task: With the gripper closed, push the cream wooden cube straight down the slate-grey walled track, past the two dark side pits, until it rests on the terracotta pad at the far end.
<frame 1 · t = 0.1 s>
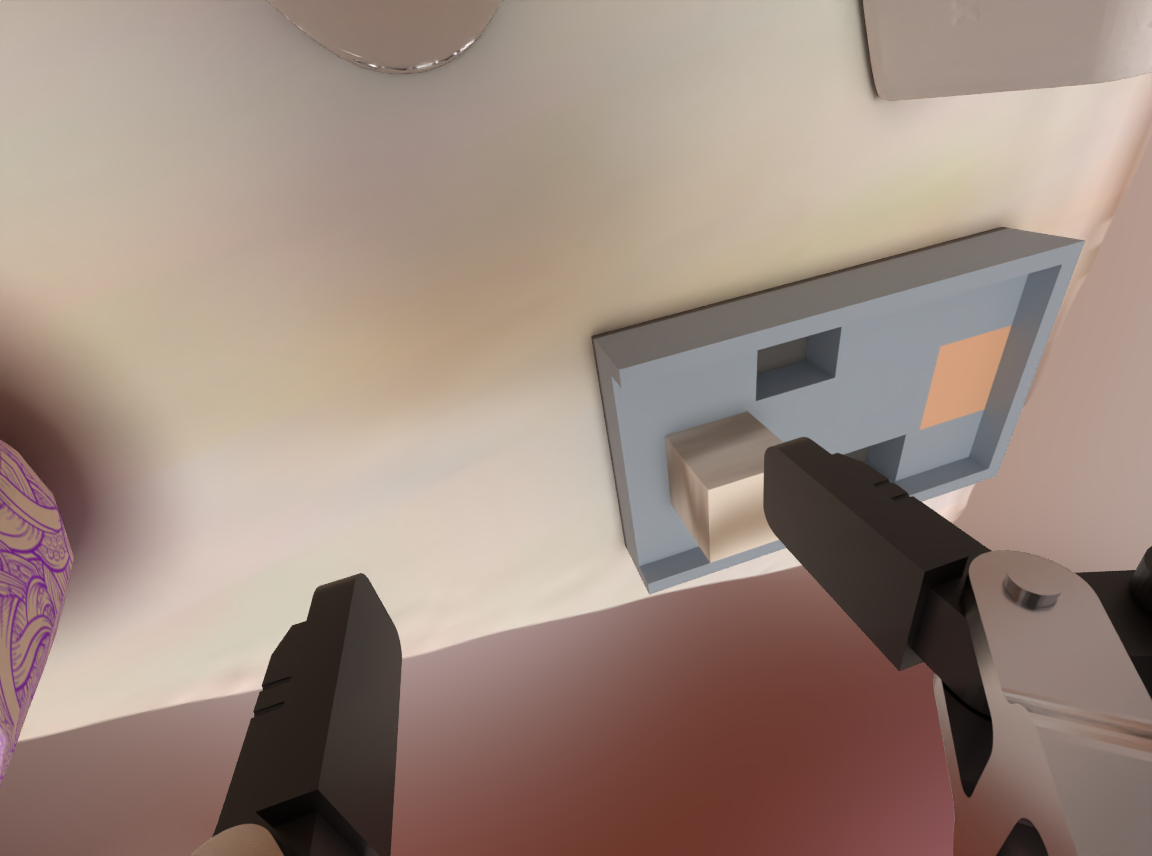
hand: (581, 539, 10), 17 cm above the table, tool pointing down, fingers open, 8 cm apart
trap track: (798, 399, 33), on the table
cream cube: (707, 458, 29), point 3 cm above the table, touching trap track
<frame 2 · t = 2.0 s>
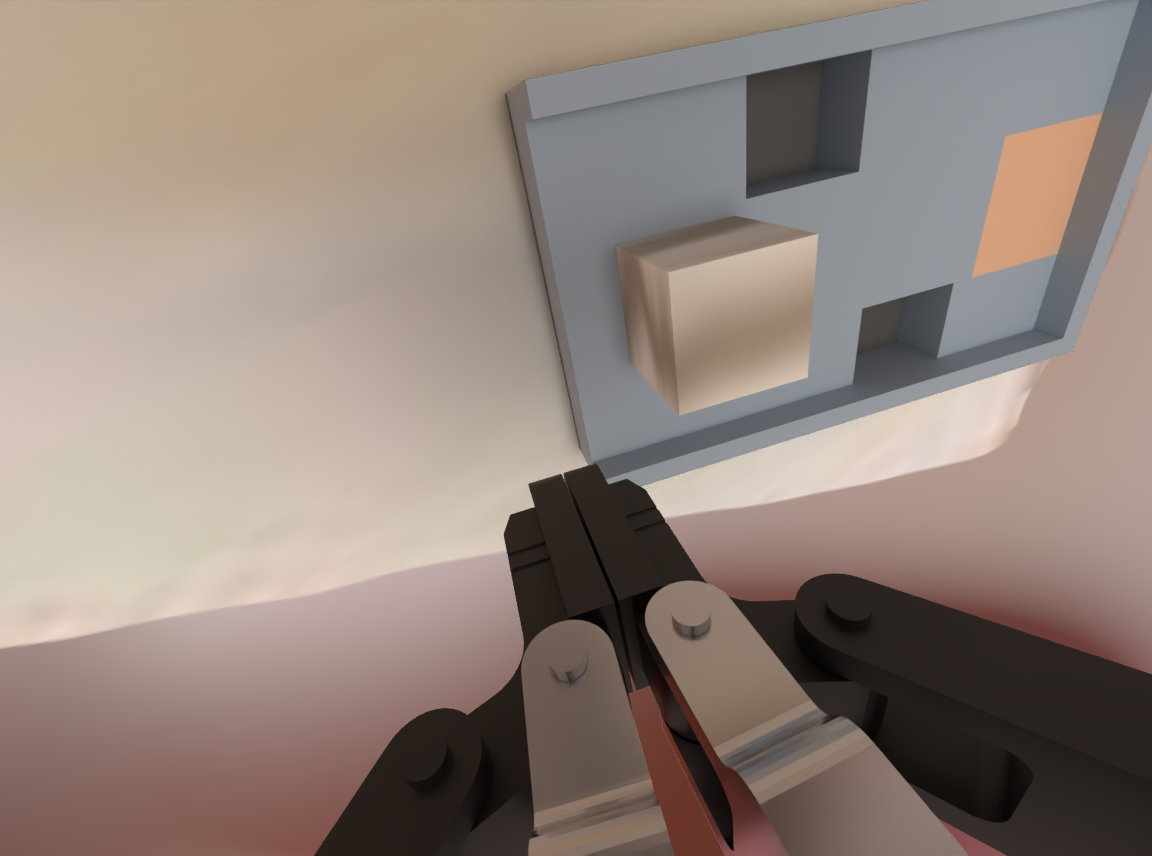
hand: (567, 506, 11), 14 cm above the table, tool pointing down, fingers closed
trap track: (806, 237, 24), on the table
cream cube: (680, 292, 21), point 3 cm above the table, touching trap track
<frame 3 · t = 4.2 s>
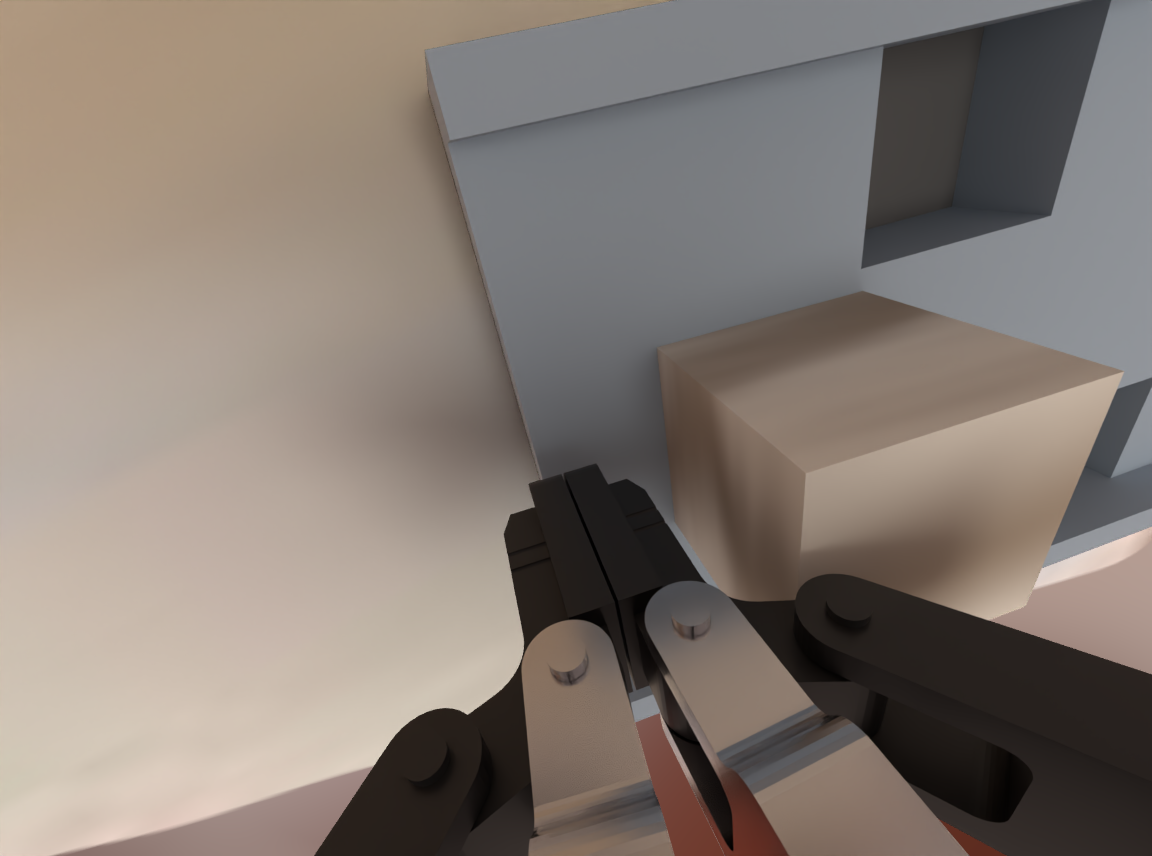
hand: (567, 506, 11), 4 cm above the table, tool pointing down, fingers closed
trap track: (922, 307, 16), on the table
cream cube: (761, 415, 12), point 3 cm above the table, touching gripper
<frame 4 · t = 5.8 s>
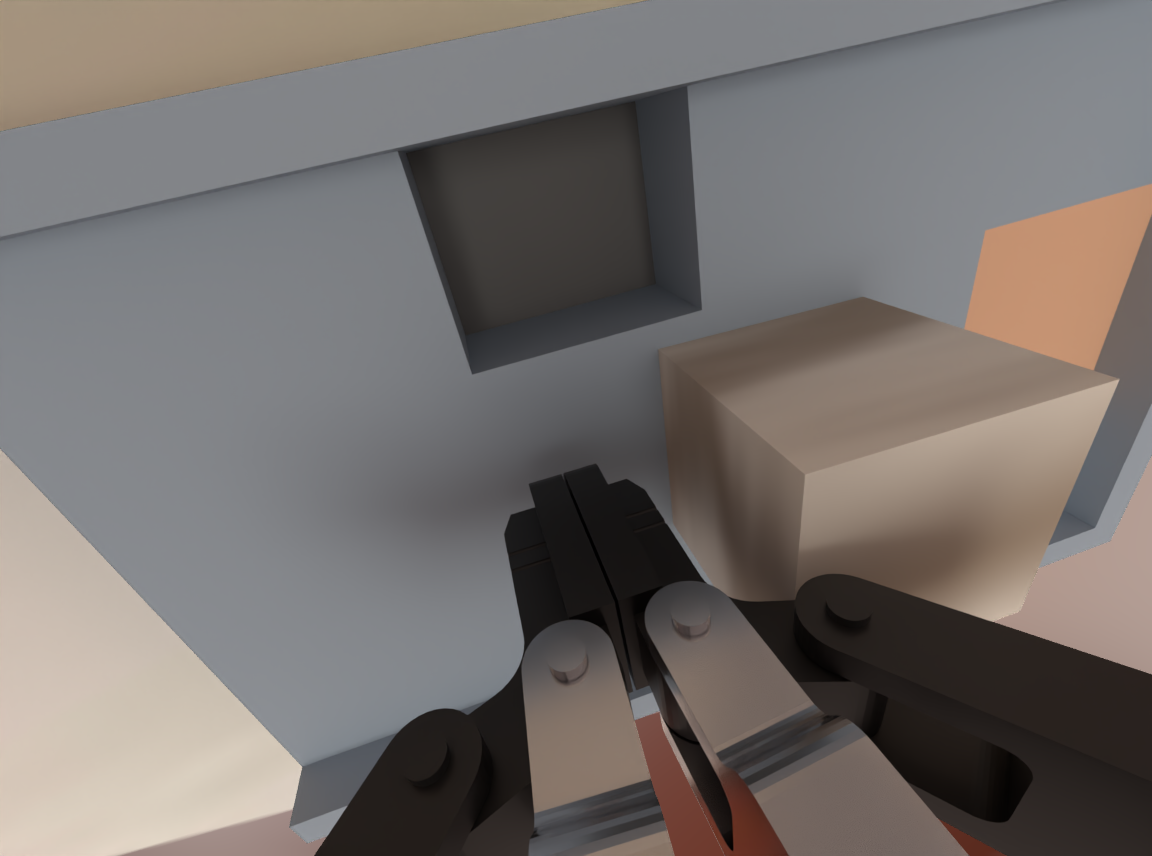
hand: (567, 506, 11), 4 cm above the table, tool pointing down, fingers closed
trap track: (662, 381, 15), on the table
cream cube: (760, 418, 12), point 3 cm above the table, touching gripper
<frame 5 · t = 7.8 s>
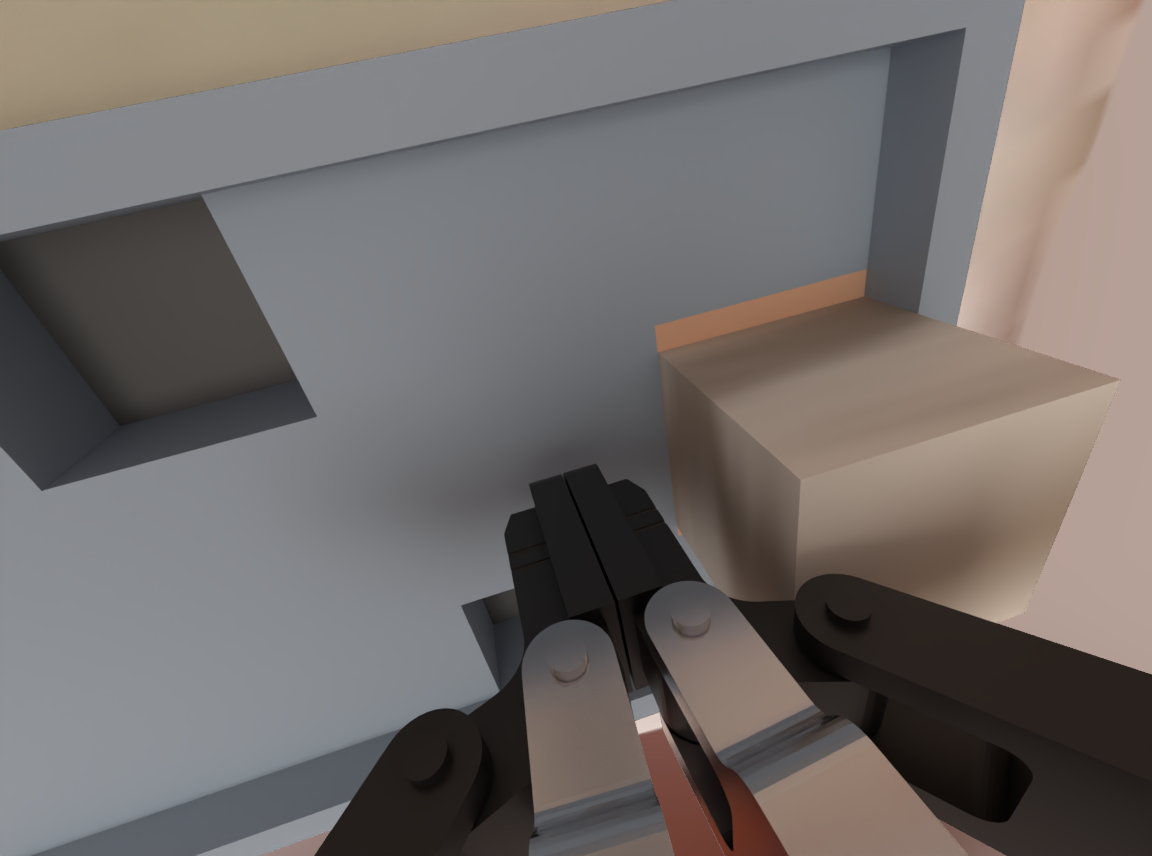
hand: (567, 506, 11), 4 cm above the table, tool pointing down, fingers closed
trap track: (388, 461, 14), on the table
cream cube: (762, 419, 12), point 3 cm above the table, touching gripper, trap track
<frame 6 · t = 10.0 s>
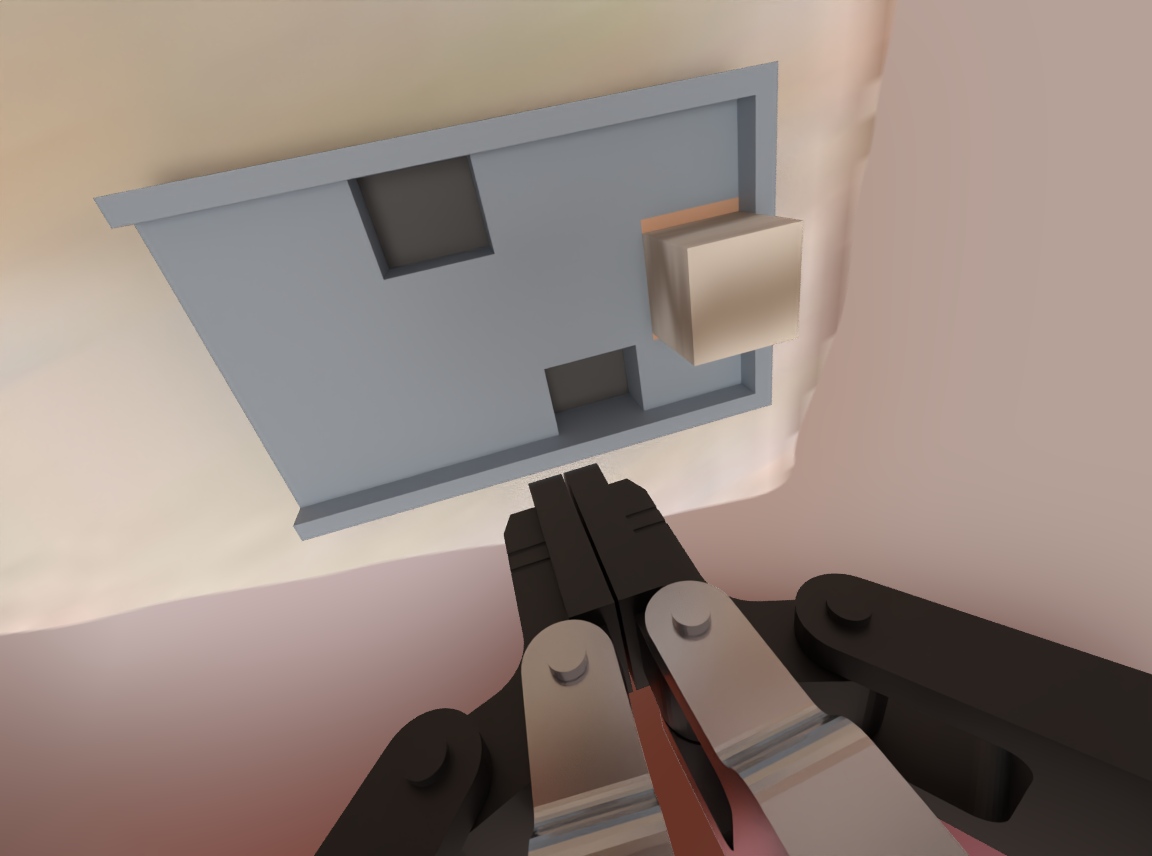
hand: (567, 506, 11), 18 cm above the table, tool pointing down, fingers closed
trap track: (503, 303, 27), on the table
cream cube: (694, 274, 25), point 3 cm above the table, touching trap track
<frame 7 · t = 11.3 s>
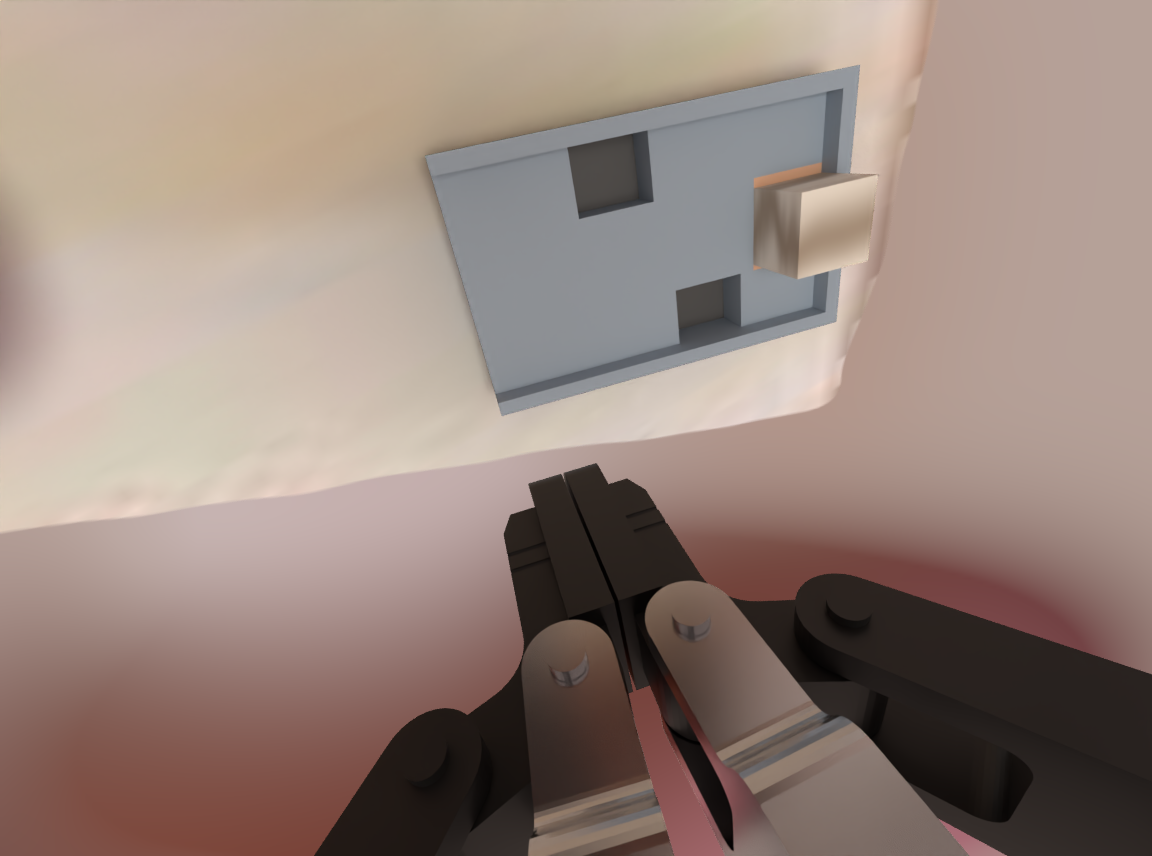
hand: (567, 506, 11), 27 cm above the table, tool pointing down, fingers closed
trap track: (642, 243, 36), on the table
cream cube: (786, 219, 34), point 3 cm above the table, touching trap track
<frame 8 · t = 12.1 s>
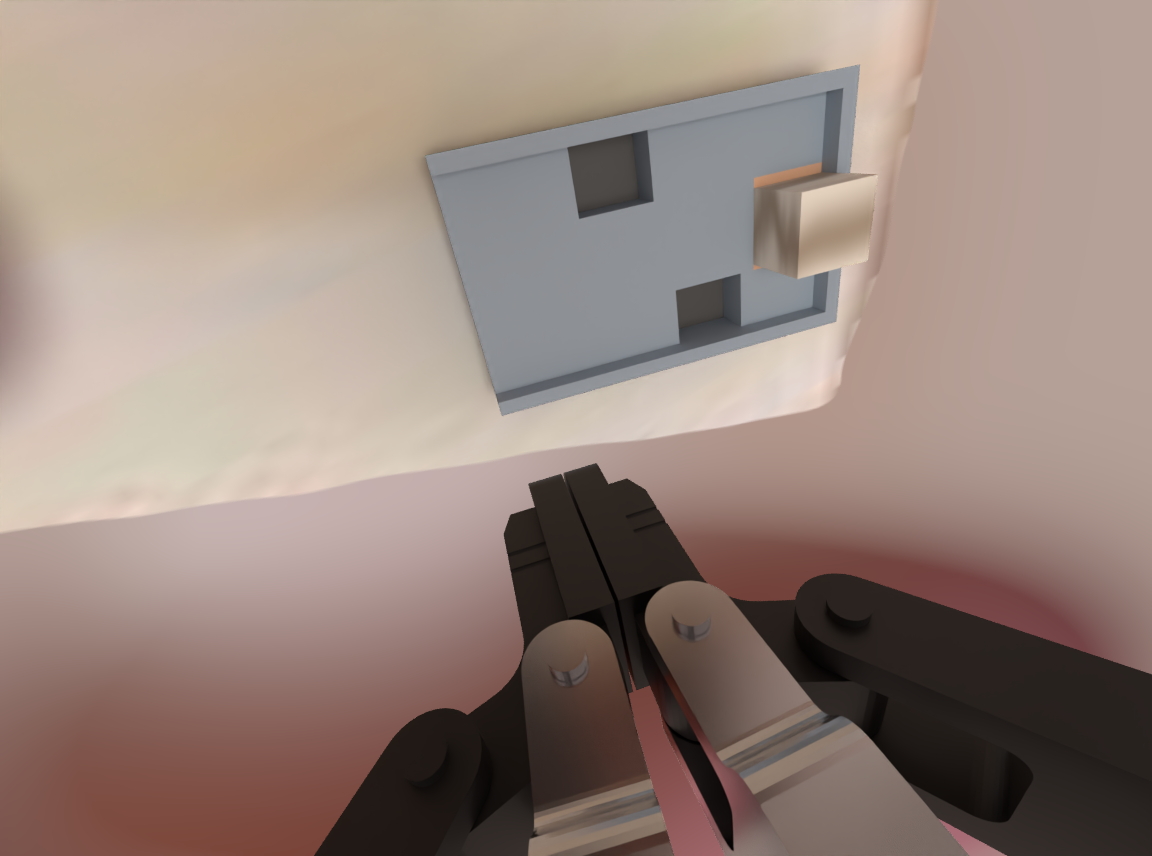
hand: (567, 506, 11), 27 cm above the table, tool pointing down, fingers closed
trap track: (642, 243, 36), on the table
cream cube: (786, 219, 34), point 3 cm above the table, touching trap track
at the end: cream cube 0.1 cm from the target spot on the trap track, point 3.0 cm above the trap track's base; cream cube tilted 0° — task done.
